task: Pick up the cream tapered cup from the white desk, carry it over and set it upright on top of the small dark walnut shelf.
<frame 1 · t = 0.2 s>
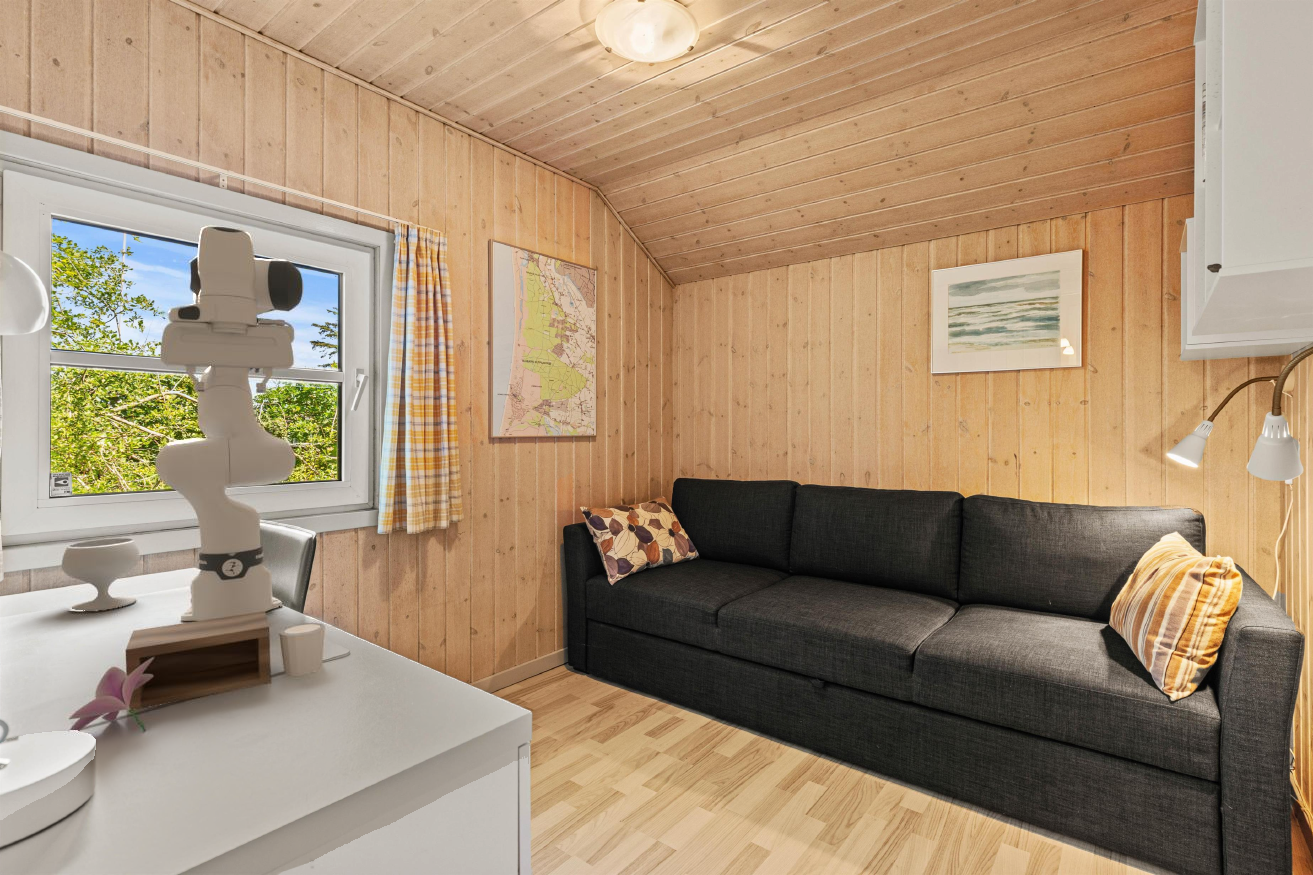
hand: (231, 392, 120), 47 cm above the table, tool pointing down, fingers open, 8 cm apart
chalice: (103, 607, 154), on the table
cream tapered cup: (303, 670, 111), on the table
lily: (116, 732, 90), on the table
walnut shelf: (203, 684, 105), on the table
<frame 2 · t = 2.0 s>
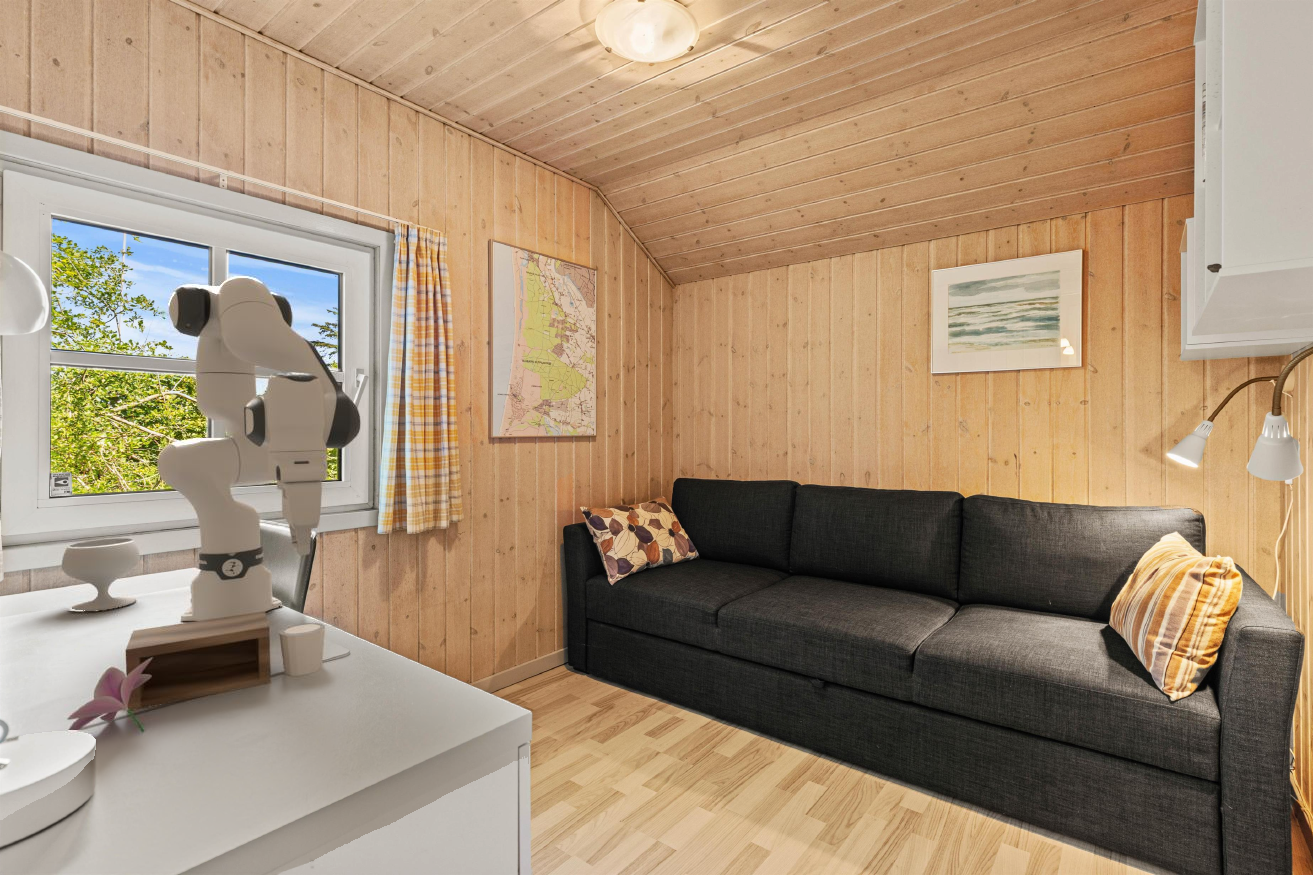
hand: (300, 550, 111), 20 cm above the table, tool pointing down, fingers open, 8 cm apart
nothing on the table moved.
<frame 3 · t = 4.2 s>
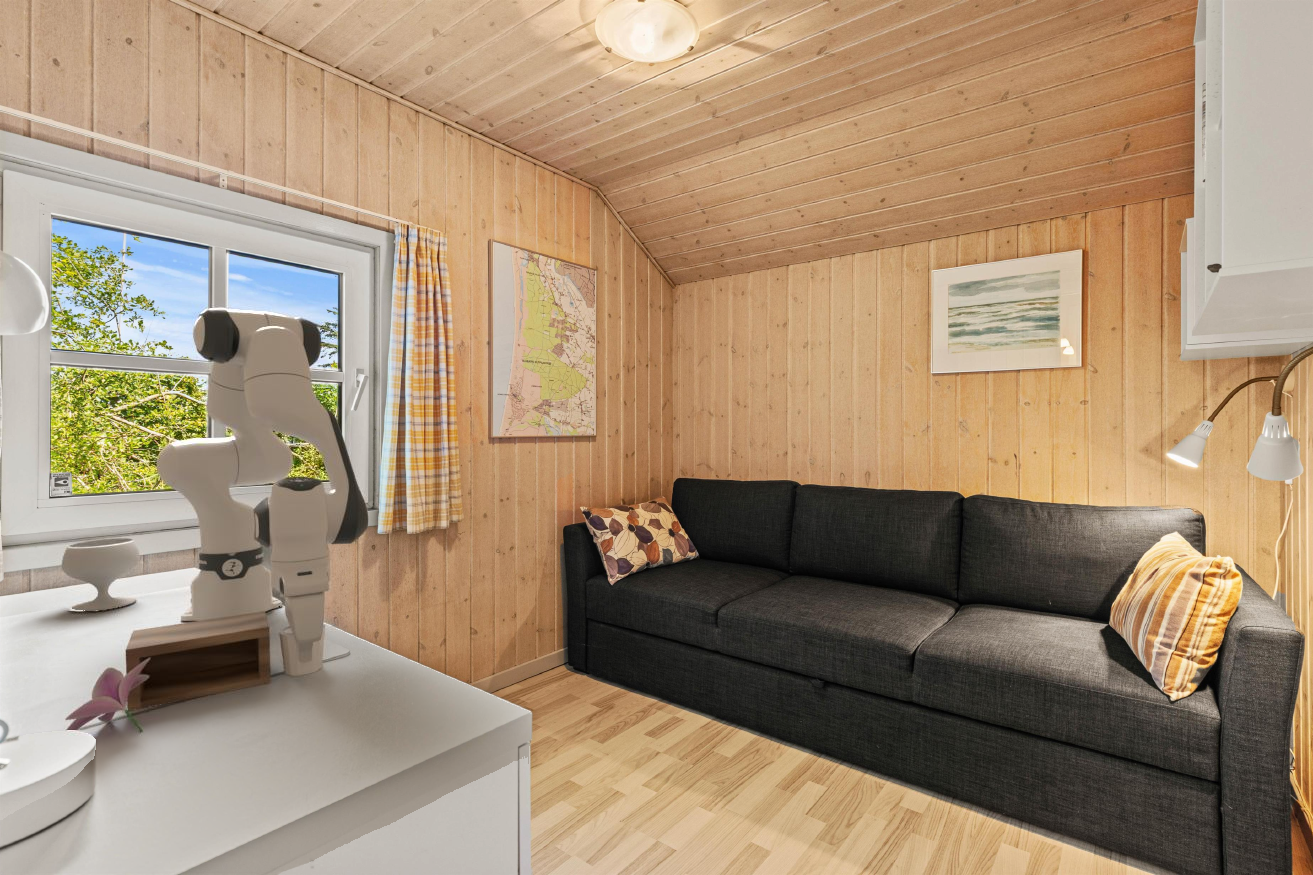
hand: (303, 655, 111), 2 cm above the table, tool pointing down, fingers closed on cream tapered cup, 5 cm apart
cream tapered cup: (303, 670, 111), on the table, touching gripper
everything else where it was.
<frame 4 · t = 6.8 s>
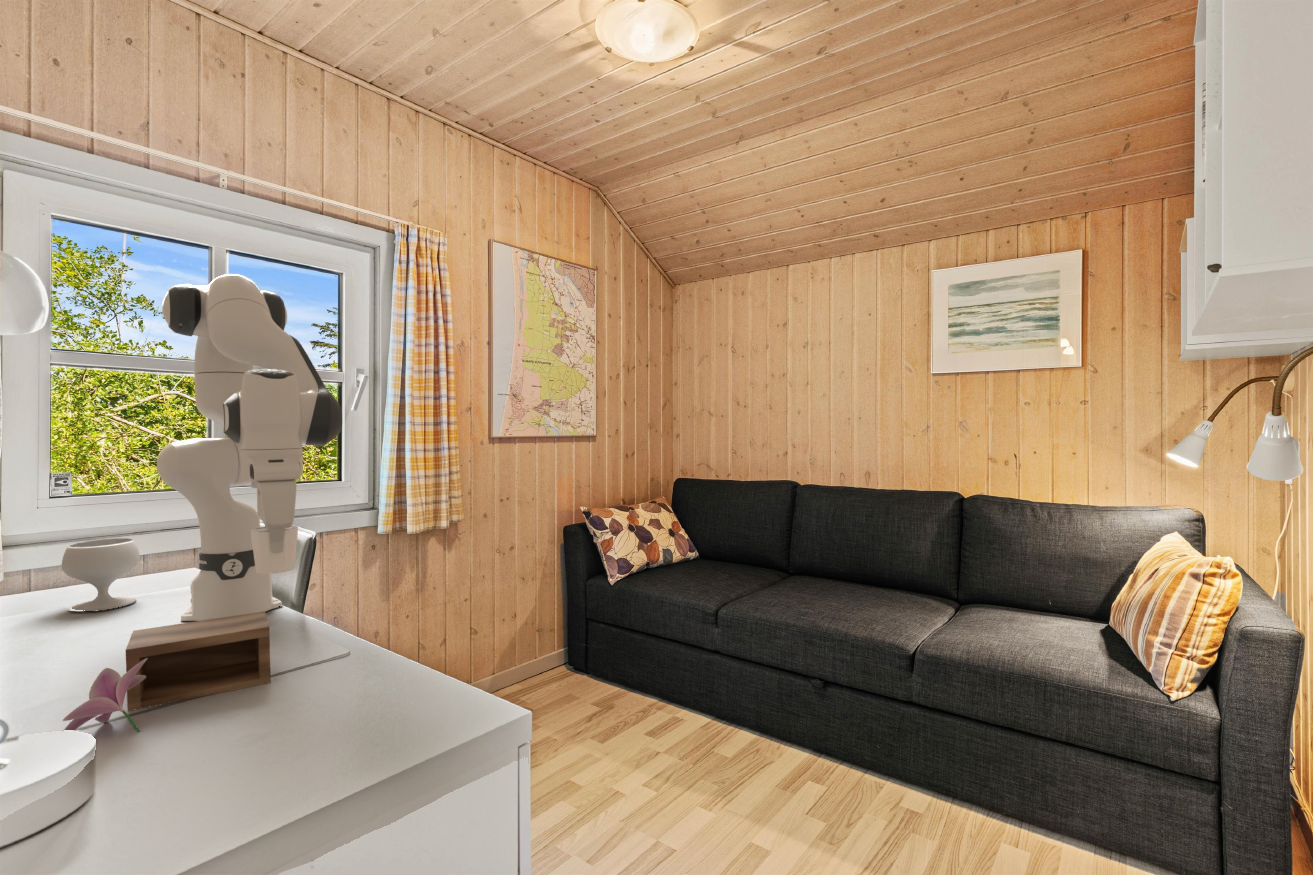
hand: (274, 549, 110), 21 cm above the table, tool pointing down, fingers closed on cream tapered cup, 5 cm apart
cream tapered cup: (275, 570, 110), point 17 cm above the table, touching gripper
everything else where it was.
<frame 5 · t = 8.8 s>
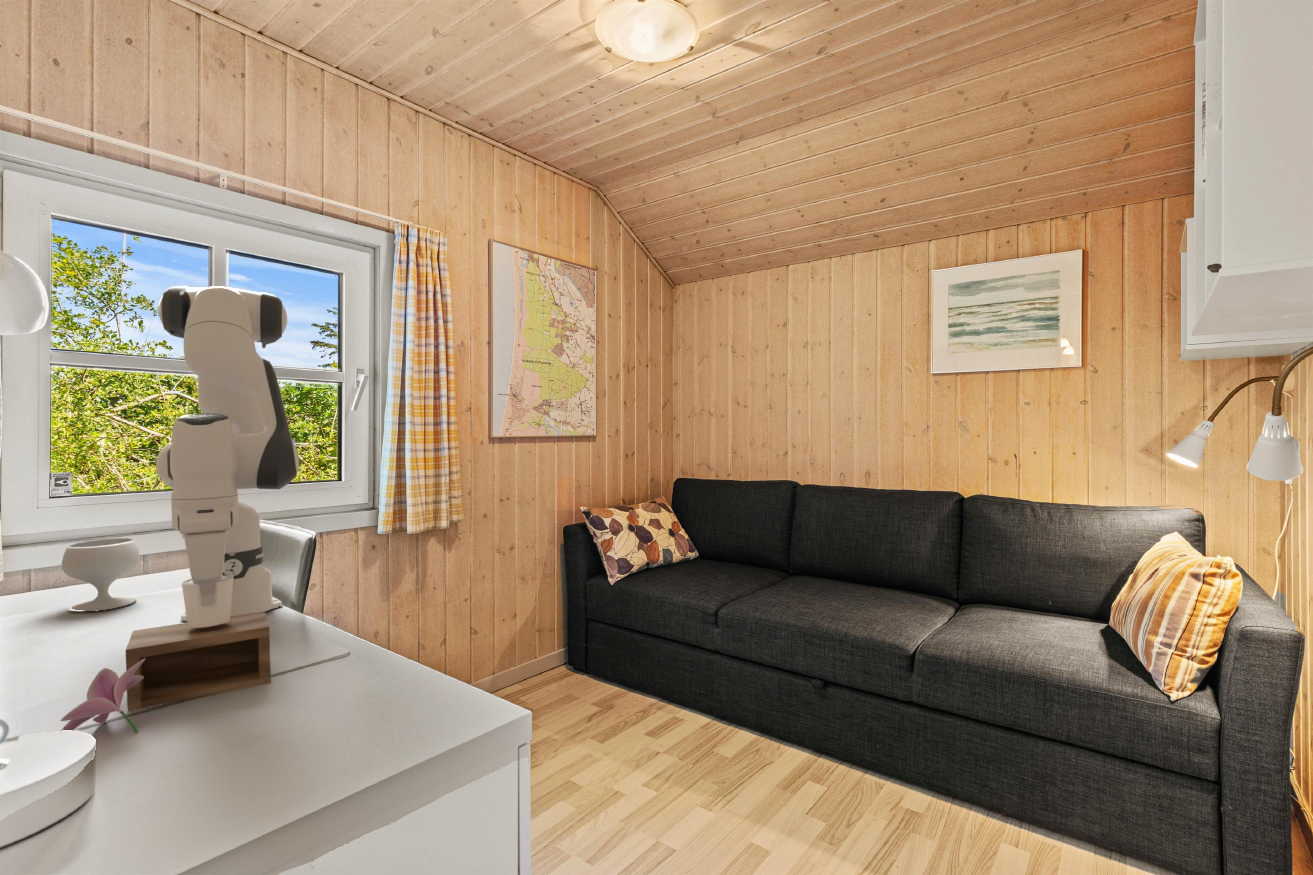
hand: (208, 600, 106), 13 cm above the table, tool pointing down, fingers closed on cream tapered cup, 5 cm apart
cream tapered cup: (209, 623, 106), point 10 cm above the table, touching gripper
everything else where it was.
when the fingers open (13 cm above the table, at t = 9.8 s): cream tapered cup stays where it is, resting on walnut shelf.
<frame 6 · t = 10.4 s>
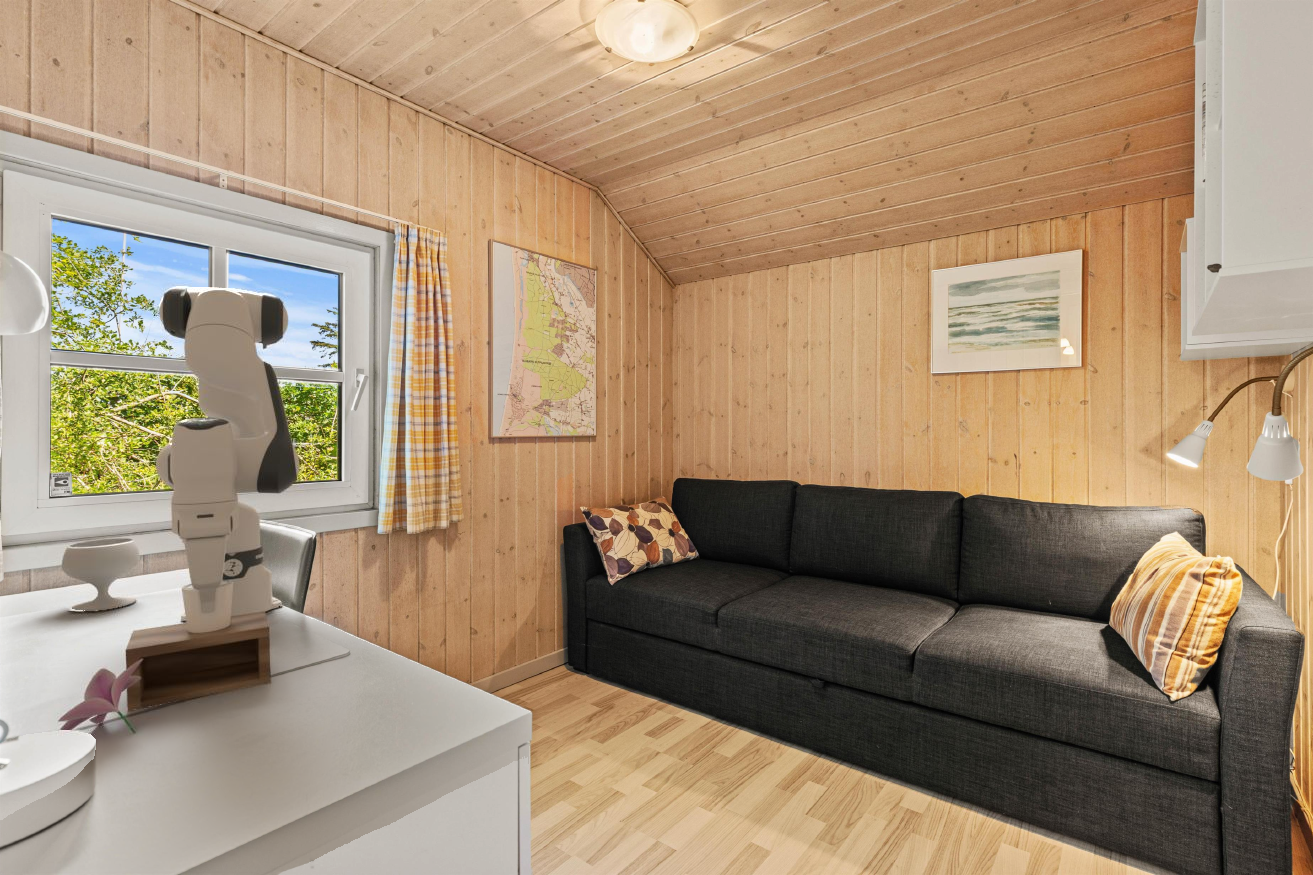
hand: (208, 605, 106), 13 cm above the table, tool pointing down, fingers open, 8 cm apart
cream tapered cup: (209, 628, 106), point 9 cm above the table, touching walnut shelf
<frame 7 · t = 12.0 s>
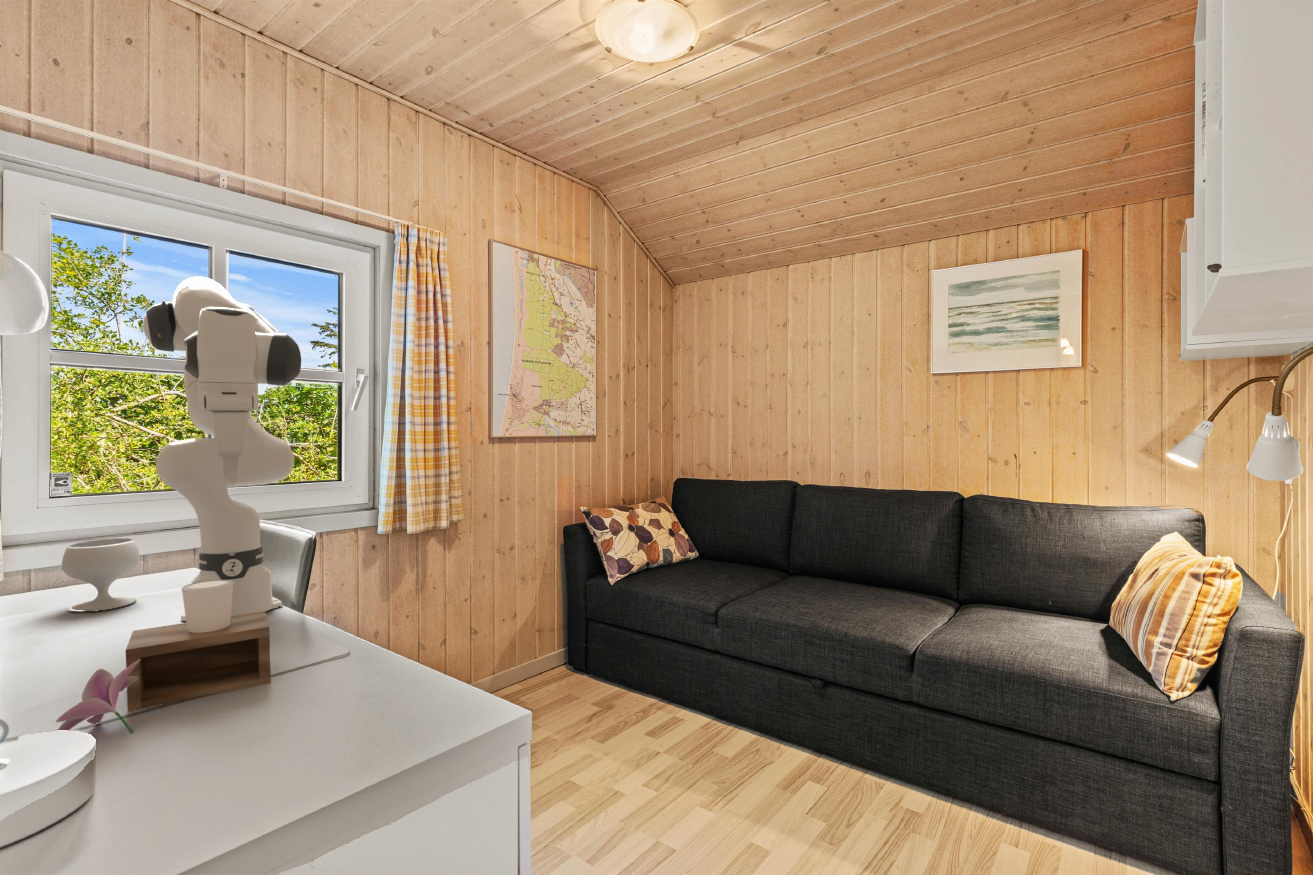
hand: (230, 479, 115), 32 cm above the table, tool pointing down, fingers open, 8 cm apart
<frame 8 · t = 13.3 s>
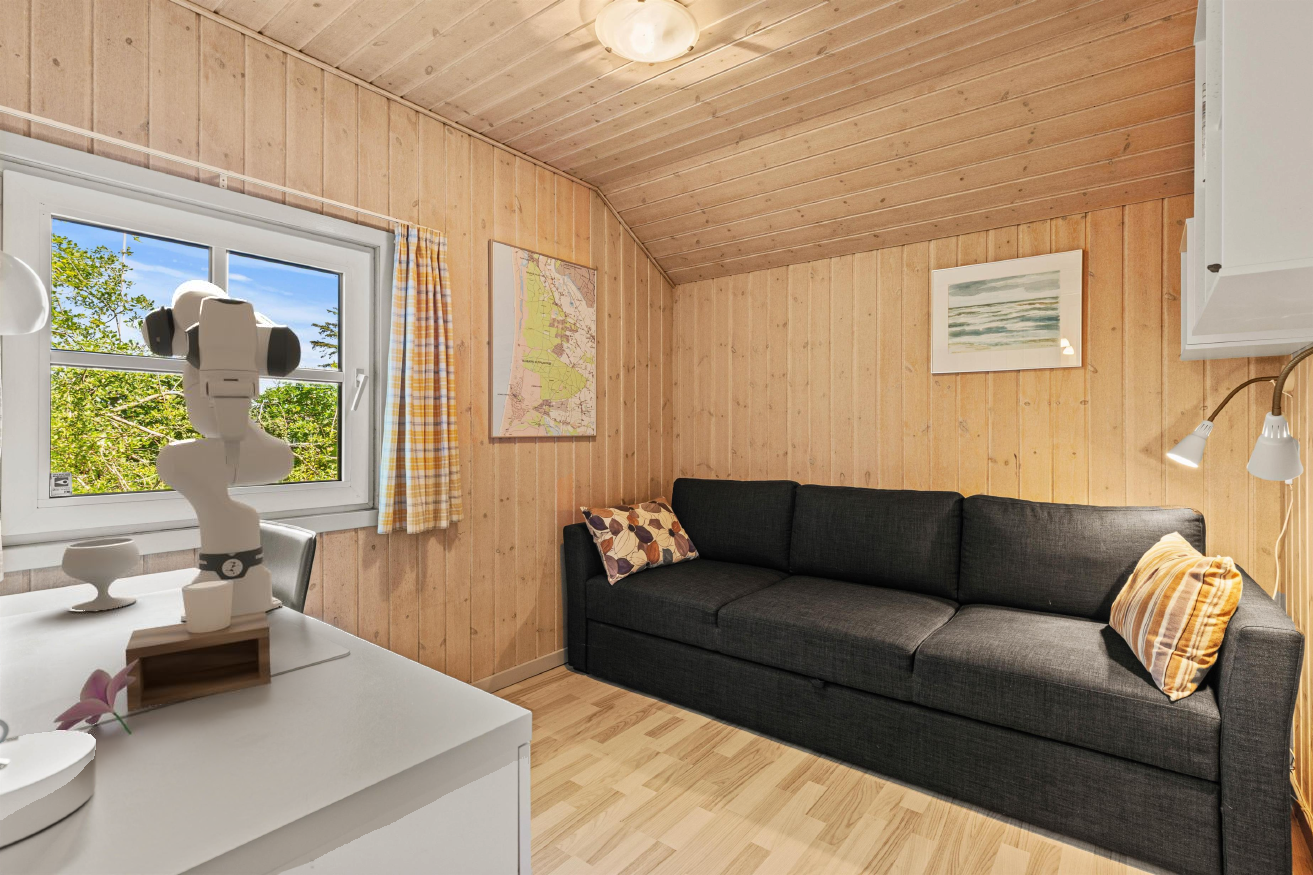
hand: (232, 466, 116), 34 cm above the table, tool pointing down, fingers open, 8 cm apart
at the end: cream tapered cup inside the target area (1.0 cm from its centre), point 8.8 cm above the table; cream tapered cup tilted 0°; the gripper is holding nothing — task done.
